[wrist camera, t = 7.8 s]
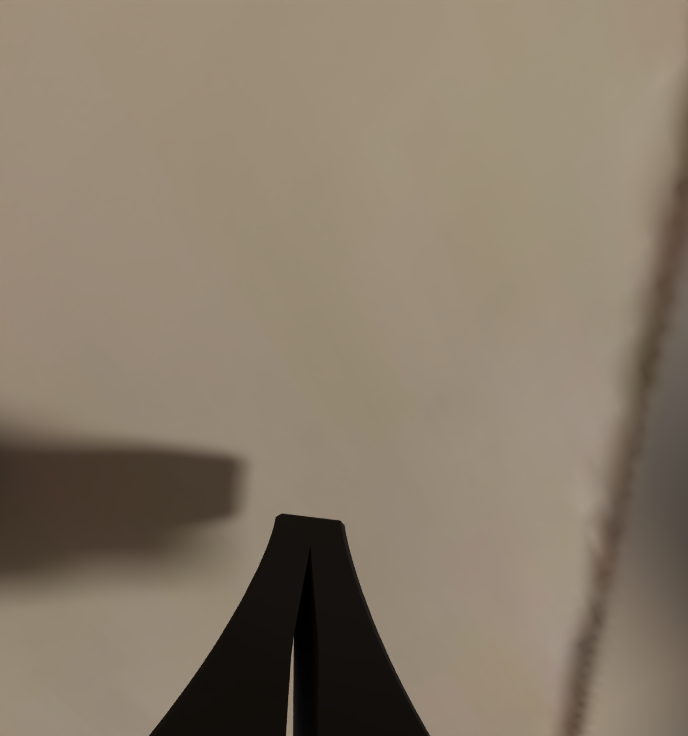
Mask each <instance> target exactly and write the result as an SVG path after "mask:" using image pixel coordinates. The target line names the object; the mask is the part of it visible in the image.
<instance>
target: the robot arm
mask: <svg viewBox="0 0 688 736" xmlns="http://www.w3.org/2000/svg"><path fill="white" fill-rule="evenodd" d="M293 638H294V690H293V736H430V735H429V733H428V731H427V730H426V728H425V726H424V724H423V722H422V721H421V719H420V717H419V715H418V714H417V712H416V710H415V708H414V706H413V705H412V703H411V701H410V699H409V697H408V695H407V693H406V691H405V689H404V687H403V685H402V683H401V681H400V679H399V677H398V675H397V673H396V671H395V669H394V667H393V665H392V663H391V661H390V658H389V656H388V654H387V652H386V649H385V647H384V645H383V643H382V640H381V638H380V636H379V634H378V631H377V629H376V626H375V624H374V621H373V619H372V616H371V613H370V611H369V608H368V605H367V603H366V600H365V597H364V595H363V592H362V589H361V586H360V583H359V580H358V577H357V574H356V571H355V567H354V564H353V561H352V557H351V553H350V550H349V546H348V541H347V537H346V532H345V525H344V524H343V523H342V522H341V521H339V520H331V519H323V518H314V517H306V516H298V515H289V514H280V515H279V516H277V517H276V519H275V523H274V528H273V531H272V534H271V537H270V540H269V543H268V546H267V548H266V551H265V553H264V555H263V558H262V560H261V562H260V564H259V567H258V569H257V571H256V573H255V575H254V577H253V579H252V581H251V583H250V585H249V587H248V589H247V591H246V593H245V595H244V597H243V598H242V600H241V602H240V604H239V606H238V607H237V609H236V611H235V612H234V614H233V616H232V617H231V619H230V621H229V623H228V624H227V626H226V628H225V629H224V631H223V633H222V635H221V636H220V638H219V639H218V641H217V642H216V644H215V646H214V647H213V649H212V650H211V652H210V653H209V655H208V656H207V658H206V659H205V661H204V662H203V664H202V665H201V667H200V668H199V670H198V671H197V673H196V674H195V675H194V677H193V678H192V680H191V681H190V683H189V684H188V685H187V687H186V688H185V689H184V691H183V692H182V693H181V695H180V696H179V697H178V699H177V700H176V702H175V703H174V704H173V706H172V707H171V708H170V710H169V711H168V712H167V714H166V715H165V716H164V717H163V719H162V720H161V721H160V723H159V724H158V725H157V726H156V728H155V729H154V730H153V731H152V733H151V734H150V735H149V736H286V725H287V709H288V694H289V680H290V665H291V653H292V646H293Z"/></svg>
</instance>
